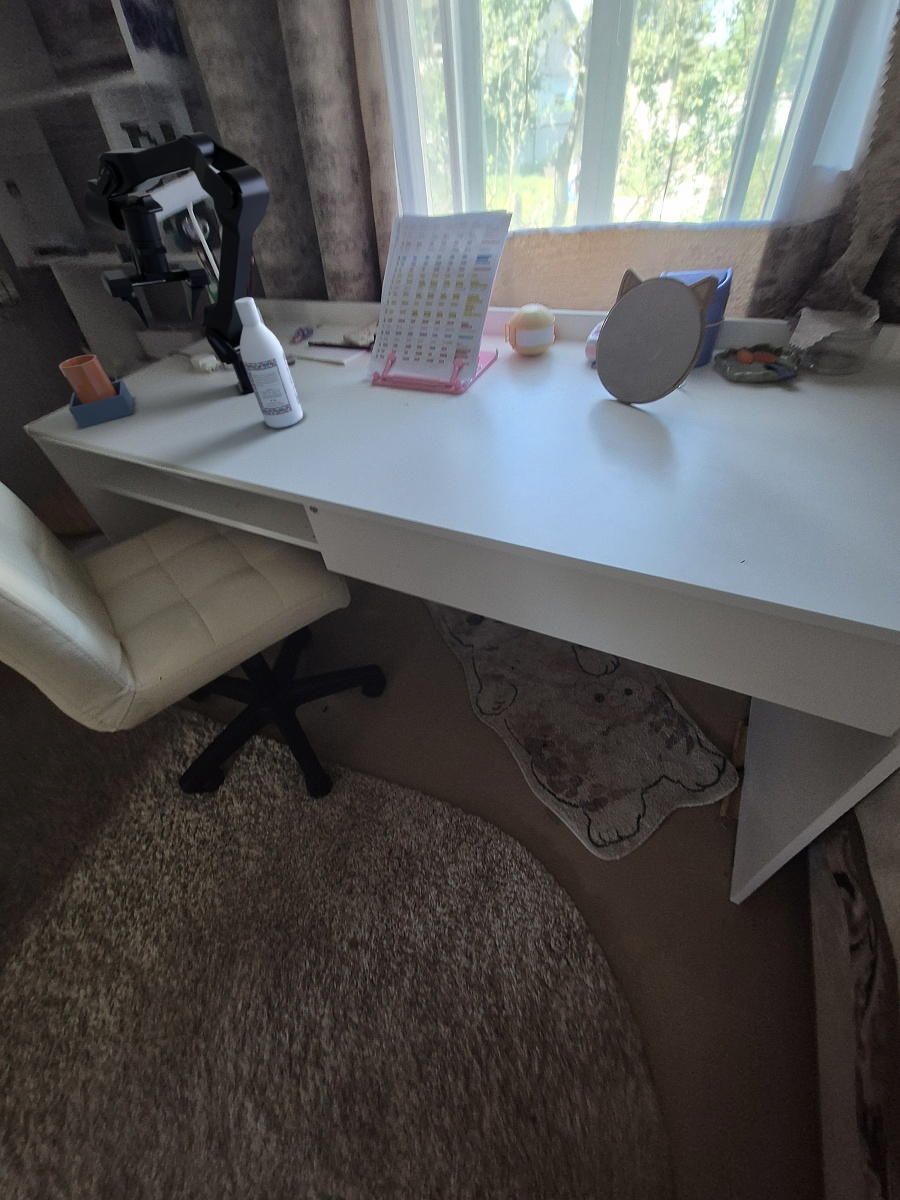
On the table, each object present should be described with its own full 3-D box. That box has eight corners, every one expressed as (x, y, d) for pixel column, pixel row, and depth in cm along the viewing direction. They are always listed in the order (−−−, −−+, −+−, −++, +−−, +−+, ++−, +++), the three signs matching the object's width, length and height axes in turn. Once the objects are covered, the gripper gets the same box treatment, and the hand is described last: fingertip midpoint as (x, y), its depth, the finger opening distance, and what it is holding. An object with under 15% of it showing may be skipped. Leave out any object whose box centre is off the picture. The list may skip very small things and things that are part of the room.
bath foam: (281, 410, 100) (241, 293, 86) (311, 413, 97) (274, 293, 84) (258, 427, 96) (212, 306, 82) (288, 430, 93) (246, 306, 79)
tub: (132, 414, 107) (122, 395, 105) (80, 428, 105) (68, 409, 102) (132, 398, 114) (122, 379, 112) (83, 411, 112) (72, 392, 109)
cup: (128, 407, 109) (101, 357, 102) (96, 420, 106) (66, 370, 99) (115, 400, 113) (88, 352, 106) (84, 413, 110) (54, 364, 103)
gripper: (180, 219, 106) (200, 302, 118) (77, 227, 98) (110, 315, 109) (201, 237, 101) (220, 321, 113) (95, 247, 92) (127, 338, 104)
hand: (170, 323), depth 110 cm, fingers open, 9 cm apart
